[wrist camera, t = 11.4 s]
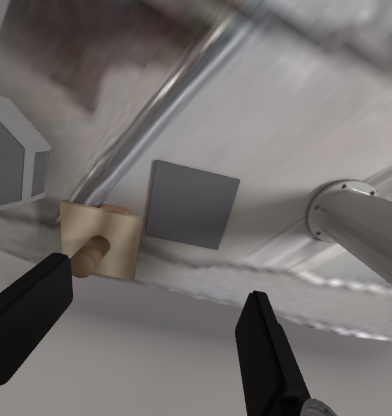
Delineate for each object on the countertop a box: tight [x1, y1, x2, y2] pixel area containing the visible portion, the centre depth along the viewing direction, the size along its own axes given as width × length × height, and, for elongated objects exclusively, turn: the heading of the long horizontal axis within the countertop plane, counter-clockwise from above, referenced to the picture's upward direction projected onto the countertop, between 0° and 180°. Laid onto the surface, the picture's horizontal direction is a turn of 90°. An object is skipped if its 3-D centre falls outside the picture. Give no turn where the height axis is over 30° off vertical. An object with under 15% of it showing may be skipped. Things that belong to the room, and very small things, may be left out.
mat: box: [145, 160, 240, 250], centre depth 35 cm, size 15×15×1 cm
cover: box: [60, 200, 143, 281], centre depth 30 cm, size 13×13×7 cm
